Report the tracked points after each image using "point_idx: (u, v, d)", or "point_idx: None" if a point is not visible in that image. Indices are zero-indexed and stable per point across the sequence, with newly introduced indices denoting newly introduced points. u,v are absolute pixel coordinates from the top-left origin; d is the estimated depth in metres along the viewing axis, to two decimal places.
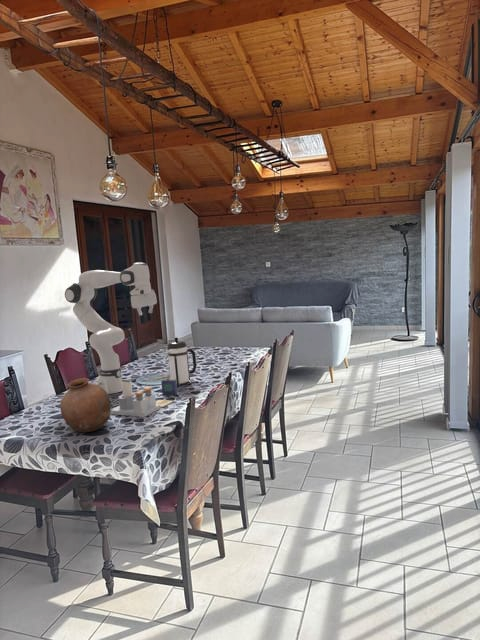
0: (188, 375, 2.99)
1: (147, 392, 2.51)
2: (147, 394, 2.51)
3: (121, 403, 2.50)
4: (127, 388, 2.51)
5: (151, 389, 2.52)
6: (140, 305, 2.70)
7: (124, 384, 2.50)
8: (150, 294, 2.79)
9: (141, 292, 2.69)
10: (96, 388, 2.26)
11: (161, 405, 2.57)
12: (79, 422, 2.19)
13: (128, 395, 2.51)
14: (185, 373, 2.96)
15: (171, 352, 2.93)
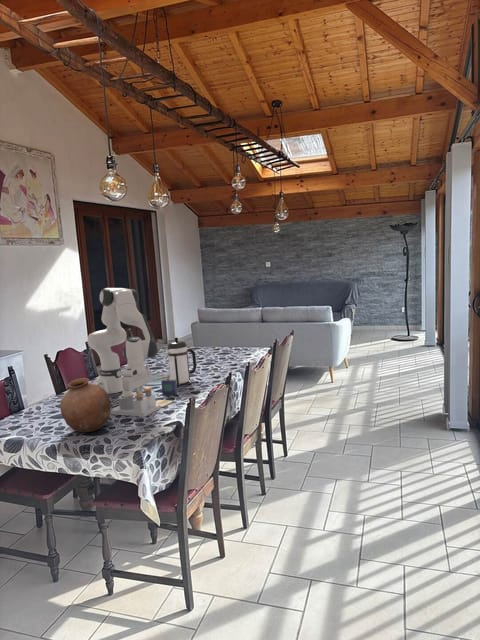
0: (188, 375, 2.99)
1: (147, 392, 2.51)
2: (147, 394, 2.51)
3: (121, 403, 2.50)
4: None
5: (151, 389, 2.52)
6: (133, 387, 2.38)
7: None
8: (144, 372, 2.47)
9: (134, 373, 2.37)
10: (96, 388, 2.26)
11: (161, 405, 2.57)
12: (79, 422, 2.19)
13: (128, 395, 2.51)
14: (185, 373, 2.96)
15: (171, 352, 2.93)
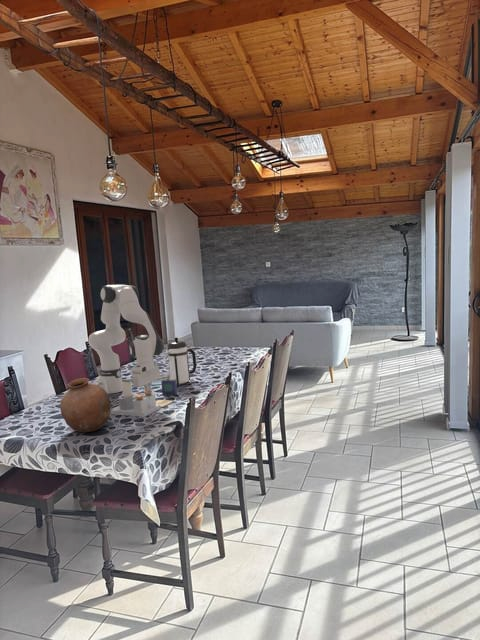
0: (188, 375, 2.99)
1: (147, 395, 2.51)
2: None
3: (121, 403, 2.50)
4: (127, 388, 2.51)
5: (151, 392, 2.52)
6: (142, 383, 2.45)
7: (124, 384, 2.50)
8: (153, 369, 2.54)
9: (143, 370, 2.44)
10: (96, 388, 2.26)
11: (161, 405, 2.57)
12: (79, 422, 2.19)
13: (128, 395, 2.51)
14: (185, 373, 2.96)
15: (171, 352, 2.93)
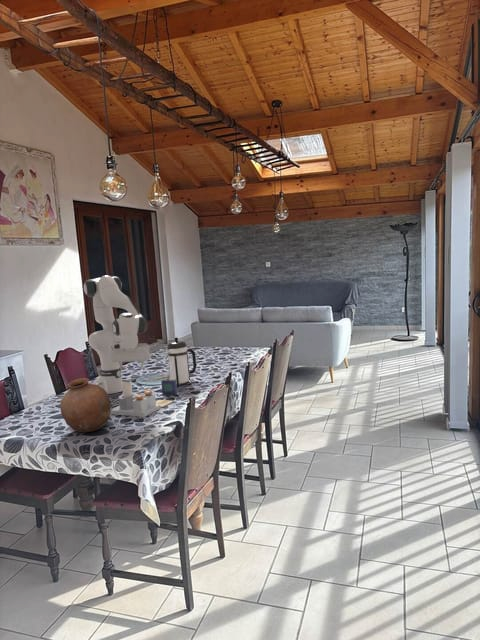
0: (188, 375, 2.99)
1: None
2: None
3: (121, 403, 2.50)
4: (127, 388, 2.51)
5: None
6: (117, 360, 2.50)
7: (124, 384, 2.50)
8: (136, 349, 2.48)
9: (116, 346, 2.47)
10: (96, 388, 2.26)
11: (161, 405, 2.57)
12: (79, 422, 2.19)
13: (128, 395, 2.51)
14: (185, 373, 2.96)
15: (171, 352, 2.93)
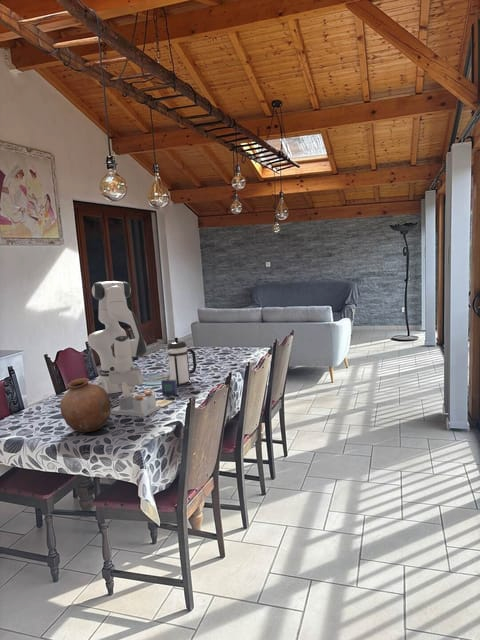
0: (188, 375, 2.99)
1: None
2: None
3: (121, 403, 2.50)
4: (127, 388, 2.51)
5: None
6: (114, 381, 2.54)
7: (124, 384, 2.50)
8: (129, 373, 2.49)
9: (111, 369, 2.52)
10: (96, 388, 2.26)
11: (161, 405, 2.57)
12: (79, 422, 2.19)
13: (128, 395, 2.51)
14: (185, 373, 2.96)
15: (171, 352, 2.93)
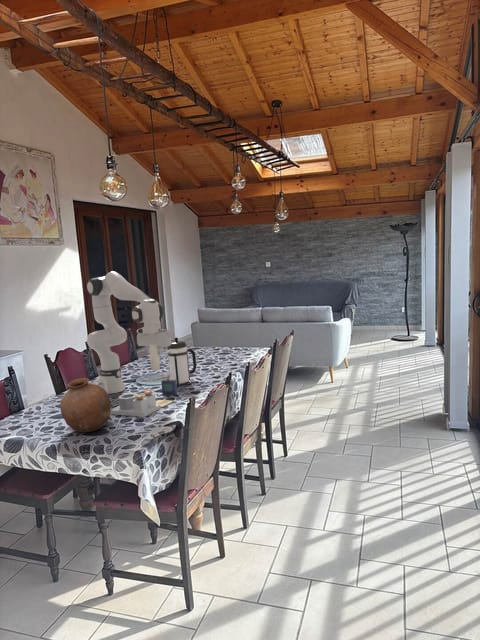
0: (188, 375, 2.99)
1: None
2: None
3: (121, 403, 2.50)
4: (153, 350, 2.55)
5: None
6: (142, 344, 2.58)
7: (151, 346, 2.55)
8: (157, 334, 2.53)
9: (139, 331, 2.56)
10: (96, 388, 2.26)
11: (161, 405, 2.57)
12: (79, 422, 2.19)
13: (154, 358, 2.55)
14: (185, 373, 2.96)
15: (171, 352, 2.93)
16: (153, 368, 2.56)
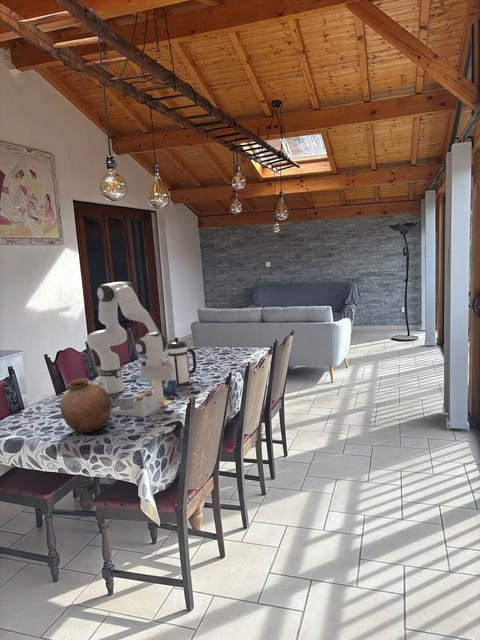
0: (188, 375, 2.99)
1: None
2: None
3: (121, 403, 2.50)
4: (156, 385, 2.57)
5: None
6: (145, 376, 2.61)
7: (154, 381, 2.58)
8: (160, 367, 2.56)
9: (143, 364, 2.58)
10: (96, 388, 2.26)
11: (161, 405, 2.57)
12: (79, 422, 2.19)
13: (157, 392, 2.58)
14: (185, 373, 2.96)
15: (171, 352, 2.93)
16: (157, 402, 2.59)
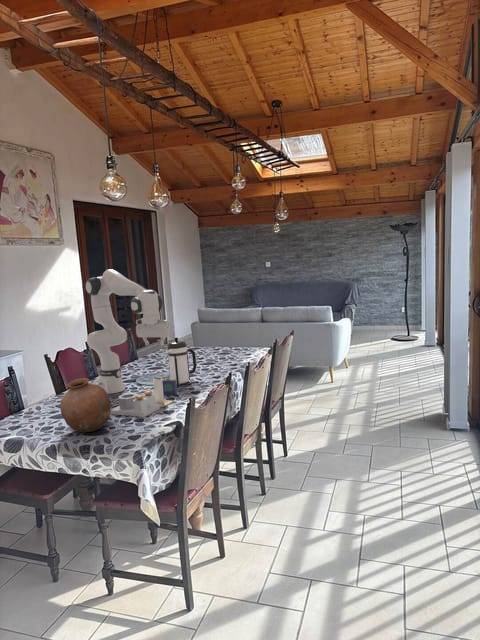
0: (188, 375, 2.99)
1: None
2: None
3: (121, 403, 2.50)
4: (157, 385, 2.57)
5: None
6: (141, 335, 2.58)
7: (154, 381, 2.57)
8: (156, 325, 2.52)
9: (138, 322, 2.55)
10: (96, 388, 2.26)
11: (161, 405, 2.57)
12: (79, 422, 2.19)
13: (157, 392, 2.58)
14: (185, 373, 2.96)
15: (171, 352, 2.93)
16: (157, 402, 2.59)
